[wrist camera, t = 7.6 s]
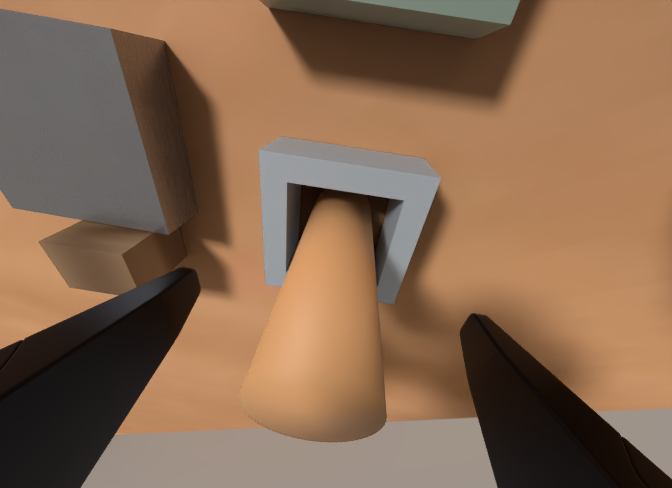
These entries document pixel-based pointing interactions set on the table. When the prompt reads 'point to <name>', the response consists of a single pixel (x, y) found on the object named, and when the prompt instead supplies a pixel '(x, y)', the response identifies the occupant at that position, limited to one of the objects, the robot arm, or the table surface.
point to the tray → (414, 13)
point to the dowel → (323, 333)
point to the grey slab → (91, 125)
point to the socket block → (351, 176)
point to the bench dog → (112, 256)
